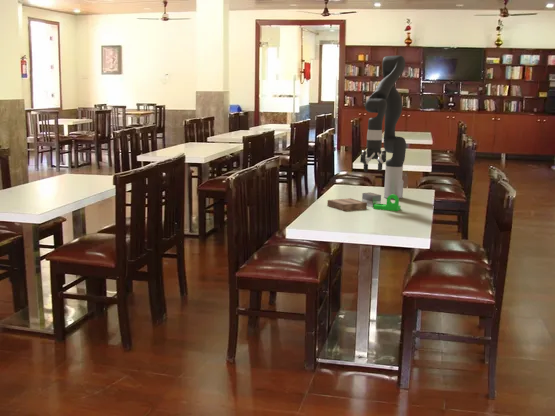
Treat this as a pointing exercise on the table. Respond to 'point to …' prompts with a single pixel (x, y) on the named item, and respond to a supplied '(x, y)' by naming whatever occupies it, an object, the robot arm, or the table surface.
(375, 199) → the block
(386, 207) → the mechanical part
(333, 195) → the table surface
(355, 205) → the walnut stand
